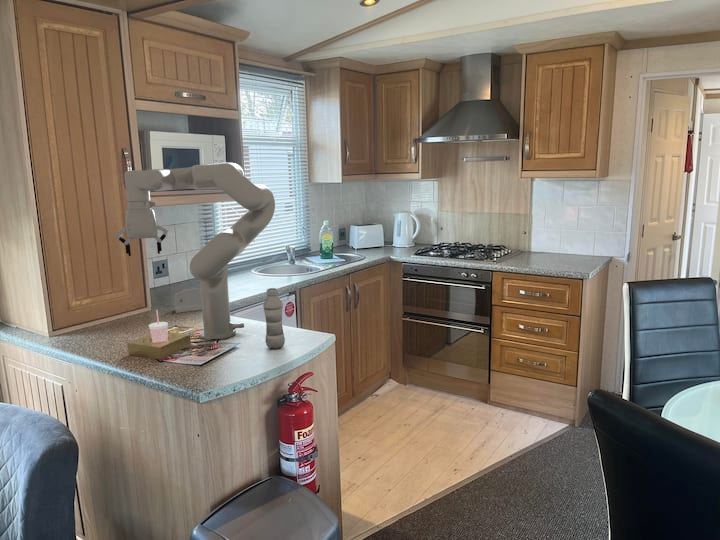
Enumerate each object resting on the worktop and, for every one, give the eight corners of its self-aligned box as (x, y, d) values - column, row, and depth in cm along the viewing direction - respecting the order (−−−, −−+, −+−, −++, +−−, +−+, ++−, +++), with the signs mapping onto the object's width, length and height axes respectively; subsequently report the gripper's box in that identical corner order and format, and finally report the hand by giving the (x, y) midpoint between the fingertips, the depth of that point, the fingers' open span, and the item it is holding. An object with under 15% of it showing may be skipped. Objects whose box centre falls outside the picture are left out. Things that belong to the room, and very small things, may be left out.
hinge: (174, 312, 225) (172, 289, 227) (174, 314, 230) (172, 291, 231) (215, 308, 231) (212, 285, 233) (214, 309, 236) (211, 287, 237)
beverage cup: (154, 354, 174) (149, 313, 171) (149, 349, 179) (144, 309, 176) (172, 350, 178) (168, 310, 175) (167, 345, 182) (163, 306, 180)
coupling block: (159, 341, 187) (158, 330, 186) (190, 345, 182) (189, 334, 181) (128, 354, 175) (127, 342, 174) (161, 359, 169) (159, 347, 168)
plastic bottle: (267, 351, 173) (263, 292, 170) (264, 345, 180) (261, 288, 176) (286, 349, 175) (283, 290, 171) (283, 343, 182) (280, 286, 178)
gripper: (165, 204, 192) (169, 251, 195) (112, 206, 185) (118, 255, 189) (166, 205, 185) (170, 253, 188) (111, 208, 178) (117, 258, 182)
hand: (144, 254), depth 188 cm, fingers open, 9 cm apart
